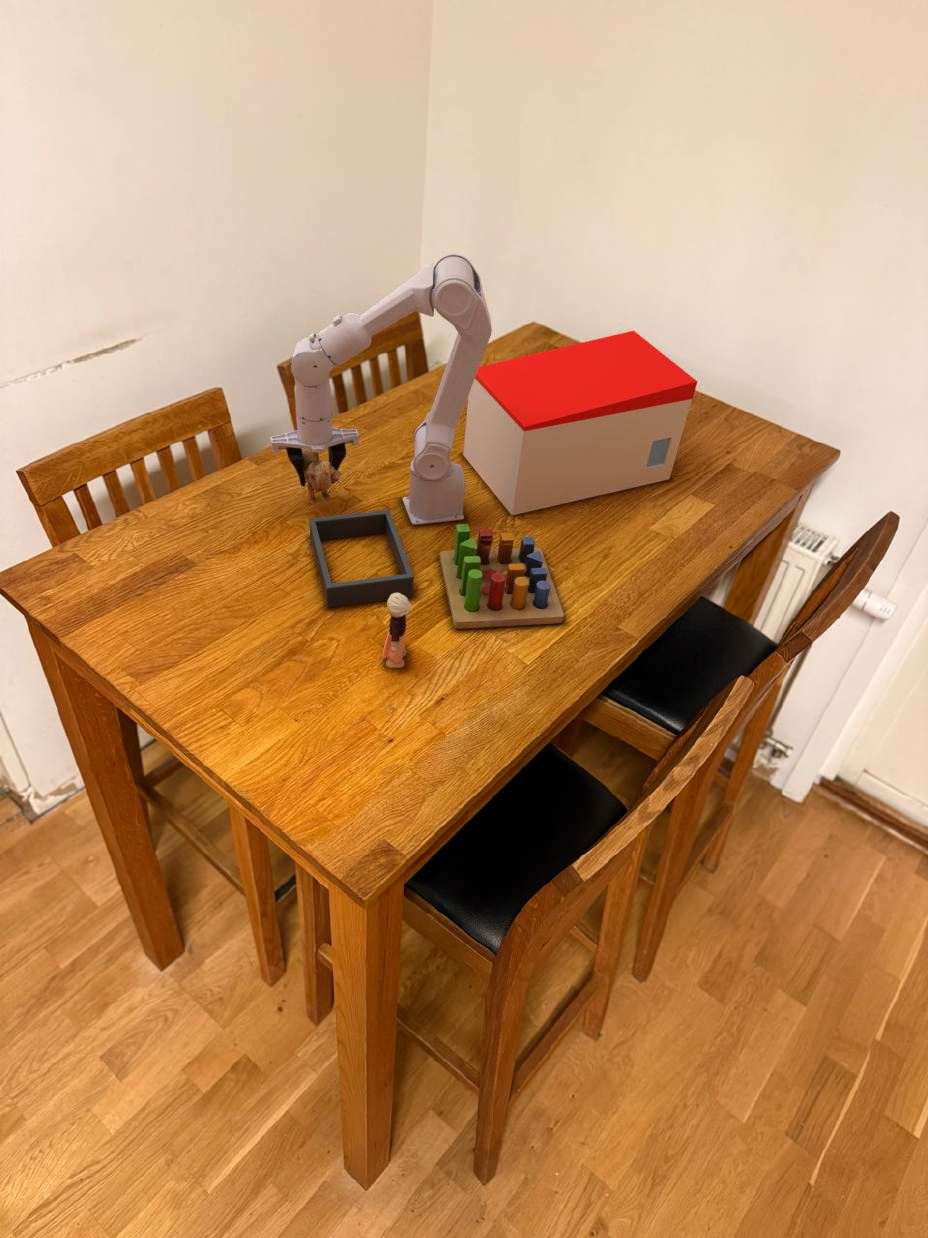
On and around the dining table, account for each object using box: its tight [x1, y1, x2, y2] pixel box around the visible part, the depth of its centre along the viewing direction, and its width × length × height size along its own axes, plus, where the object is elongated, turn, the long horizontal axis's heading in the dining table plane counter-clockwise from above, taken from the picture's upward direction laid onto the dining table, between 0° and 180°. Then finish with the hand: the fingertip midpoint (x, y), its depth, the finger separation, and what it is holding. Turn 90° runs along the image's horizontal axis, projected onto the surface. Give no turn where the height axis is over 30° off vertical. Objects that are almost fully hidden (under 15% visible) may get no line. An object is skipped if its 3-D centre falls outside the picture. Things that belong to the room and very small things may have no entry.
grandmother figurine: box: [382, 593, 412, 669], centre depth 127 cm, size 8×4×13 cm, turn 5°
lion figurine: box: [299, 449, 342, 505], centre depth 152 cm, size 15×5×9 cm, turn 29°
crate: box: [308, 509, 415, 609], centre depth 144 cm, size 14×18×4 cm
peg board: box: [439, 523, 565, 630], centre depth 141 cm, size 18×17×9 cm
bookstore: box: [462, 330, 699, 516], centre depth 165 cm, size 21×35×21 cm, turn 116°
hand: (317, 481), depth 154 cm, fingers closed on lion figurine, 4 cm apart
